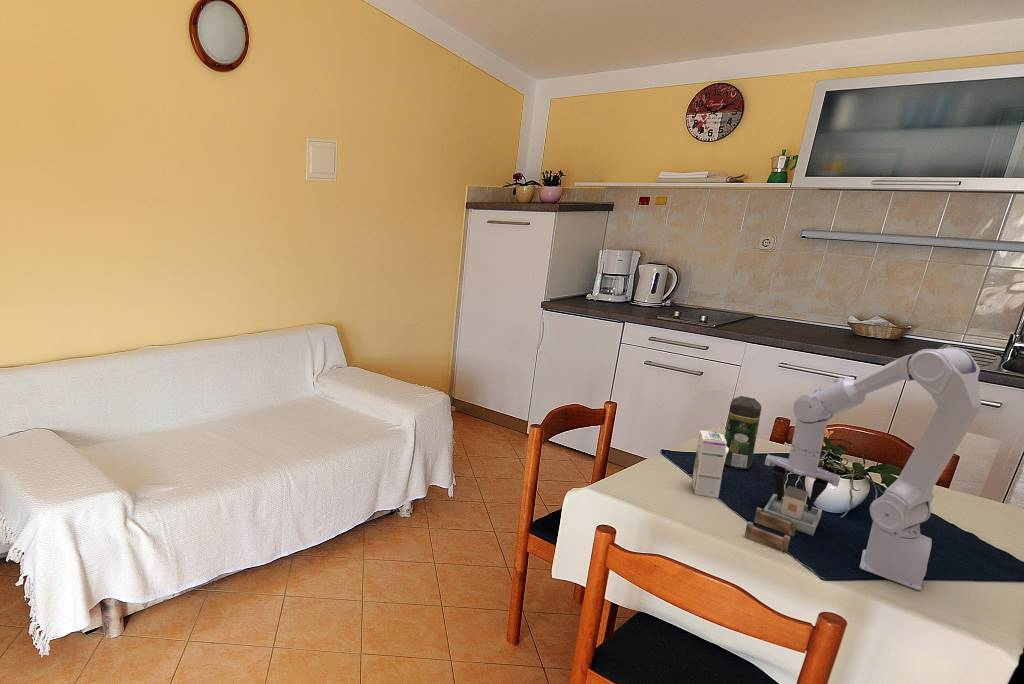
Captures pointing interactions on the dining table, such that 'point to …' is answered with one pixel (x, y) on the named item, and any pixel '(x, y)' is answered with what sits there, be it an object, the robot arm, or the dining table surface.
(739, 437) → the coffee jar
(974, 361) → the robot arm
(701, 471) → the syrup box
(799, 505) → the small beige carton
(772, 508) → the tray
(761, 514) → the rail holder
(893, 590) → the dining table surface
